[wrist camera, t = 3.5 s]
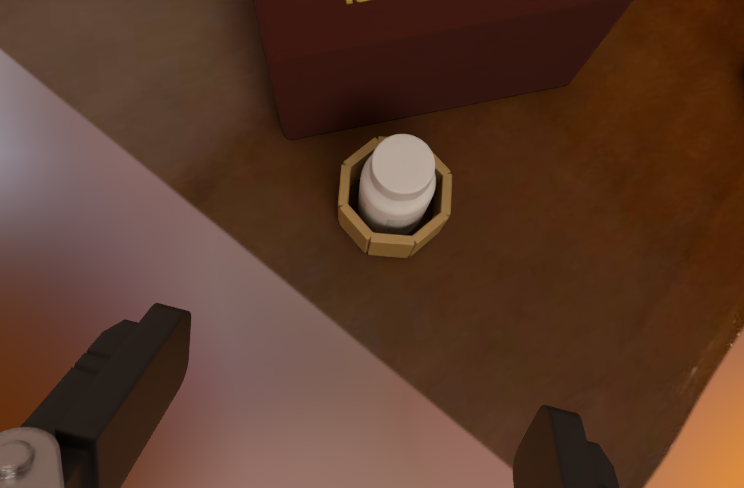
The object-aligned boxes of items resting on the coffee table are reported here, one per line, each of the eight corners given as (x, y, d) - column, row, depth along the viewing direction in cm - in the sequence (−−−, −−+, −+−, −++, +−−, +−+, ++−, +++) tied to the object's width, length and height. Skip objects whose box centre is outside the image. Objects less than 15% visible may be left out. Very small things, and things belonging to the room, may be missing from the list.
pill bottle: (436, 201, 37) (460, 155, 30) (397, 252, 36) (412, 218, 29) (383, 163, 38) (394, 109, 30) (344, 212, 37) (345, 169, 29)
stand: (439, 260, 36) (449, 248, 33) (335, 252, 36) (334, 238, 33) (443, 163, 38) (453, 142, 35) (343, 154, 38) (344, 132, 34)
